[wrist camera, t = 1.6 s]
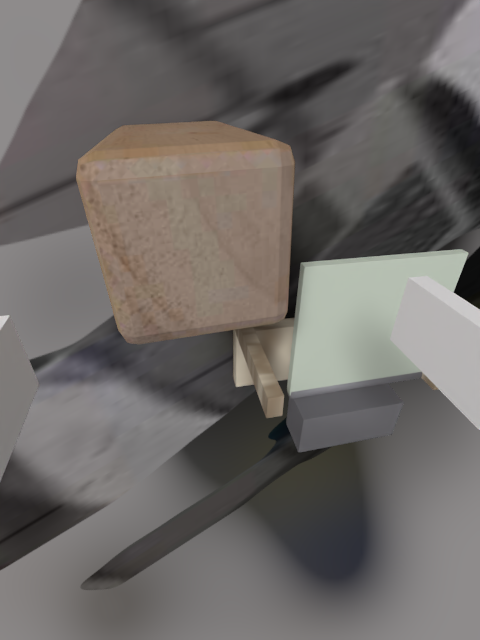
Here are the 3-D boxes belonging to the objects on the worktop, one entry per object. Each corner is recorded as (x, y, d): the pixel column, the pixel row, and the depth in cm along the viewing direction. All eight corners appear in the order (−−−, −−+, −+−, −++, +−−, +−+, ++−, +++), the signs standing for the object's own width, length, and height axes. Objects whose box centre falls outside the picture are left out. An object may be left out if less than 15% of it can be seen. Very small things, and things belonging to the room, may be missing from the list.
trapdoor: (273, 425, 39) (284, 455, 36) (289, 250, 28) (307, 270, 24) (383, 406, 42) (403, 432, 38) (439, 238, 30) (474, 255, 27)
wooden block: (224, 119, 32) (303, 140, 15) (229, 226, 37) (292, 327, 21) (111, 125, 30) (64, 156, 13) (134, 236, 35) (120, 354, 19)
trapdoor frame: (233, 377, 49) (262, 475, 36) (232, 309, 43) (267, 398, 30) (355, 359, 52) (421, 443, 39) (370, 294, 46) (454, 369, 33)
